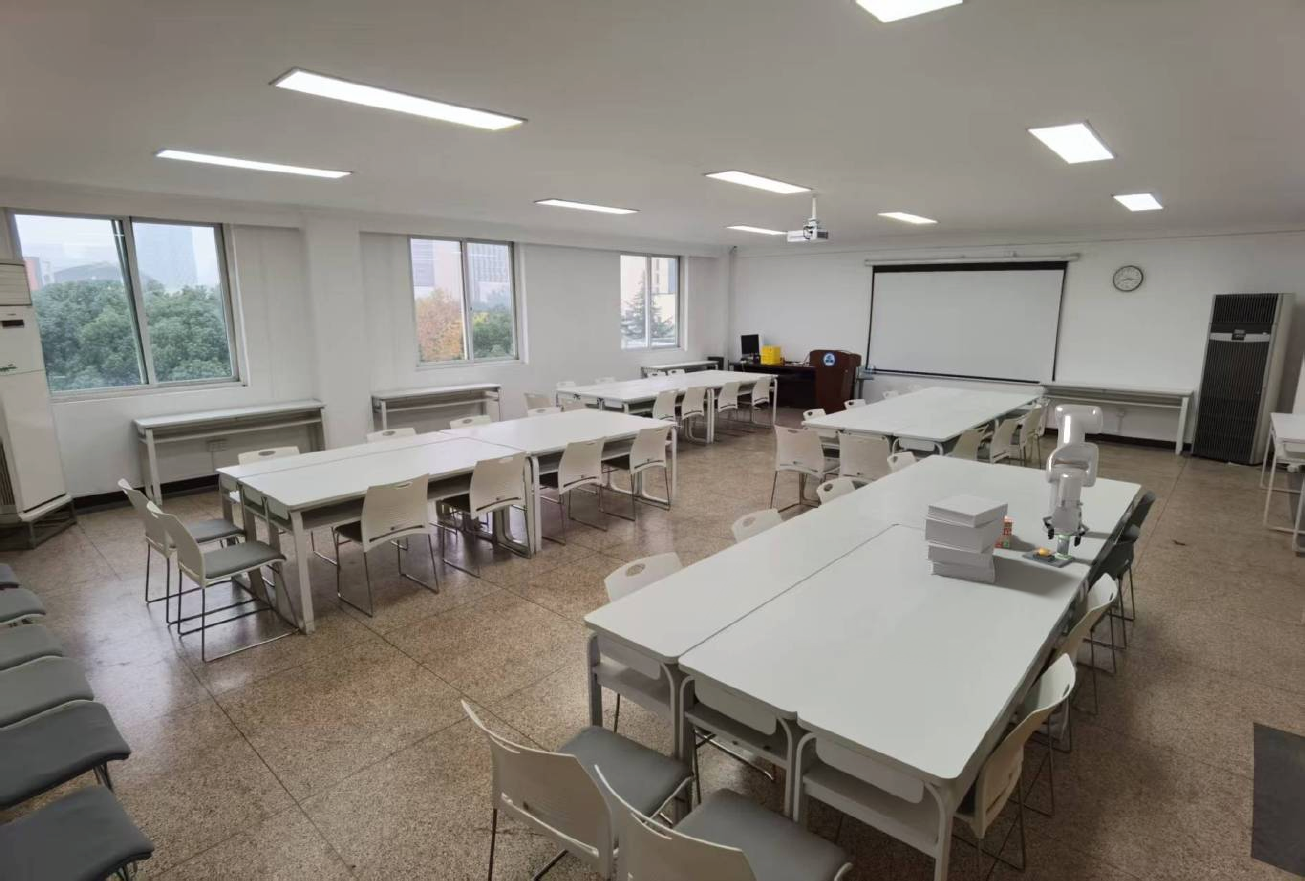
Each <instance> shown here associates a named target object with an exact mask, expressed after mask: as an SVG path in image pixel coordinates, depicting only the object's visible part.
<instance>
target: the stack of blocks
mask: <svg viewBox="0 0 1305 881" xmlns="http://www.w3.org/2000/svg"><path fill="white" fill-rule="evenodd" d="M1013 522H1014V521H1012V520H1011V518H1009V517H1008V516H1007V515H1005V523H1004V533H1003V535H1002V536H1001V537H999V538H998V539H997V540H996V542H995V547H994V549H1010V546H1011V537H1012V530H1013Z"/></svg>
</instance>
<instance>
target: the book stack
mask: <svg viewBox="0 0 1305 881" xmlns="http://www.w3.org/2000/svg"><path fill="white" fill-rule="evenodd" d="M926 506H928V513H927V514H926V515H925V517H924V520H925V529H924V530H925V533H924V538H922V541H926V542H928V543H927V544H926V546H927V547H928V553H927V556H926V558H925V560H927V561H931V565H930V574H931V575H936V576H941V577H948V578H956V579H963V580H969V581H976V582H984V583H991V584H993V583H995V574H996V571H995V570H996V569H995V565H994V560H993V553H994V549H995V548H994V547H995V542H996V540H997V539H998V538H999V537H1001V536H1002V535H1003V533H1004V523H1005V516H1007V515H1008V507H1009V504H1008V503H1007V502H1003V501H999V500H994V499H990V498H985V497H980V496H974V495H970V494H967V493H961V492H960V493H957V494H955V495H951V496H948V497H945V498H943V499H939V500H935V501H933V502H930V503H927V504H926Z"/></svg>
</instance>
